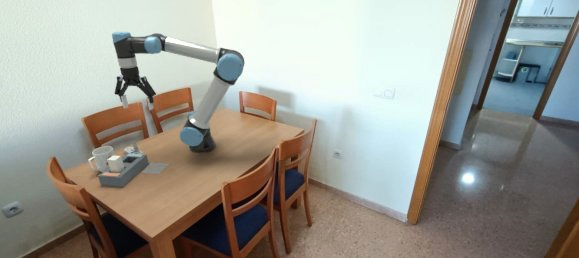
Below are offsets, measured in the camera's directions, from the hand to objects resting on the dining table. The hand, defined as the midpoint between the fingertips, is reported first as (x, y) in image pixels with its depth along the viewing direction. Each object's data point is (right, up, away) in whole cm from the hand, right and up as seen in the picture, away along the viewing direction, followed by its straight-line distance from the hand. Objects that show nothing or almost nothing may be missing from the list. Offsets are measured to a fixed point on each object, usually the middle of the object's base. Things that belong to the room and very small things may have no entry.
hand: (138, 108), depth 136 cm
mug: (-20, -32, +4) cm, 38 cm away
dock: (-6, -34, 0) cm, 34 cm away
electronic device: (-13, -25, +19) cm, 34 cm away
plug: (-7, -35, -4) cm, 36 cm away
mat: (+6, -32, +5) cm, 32 cm away
